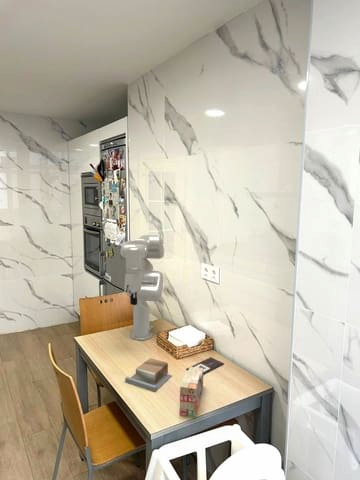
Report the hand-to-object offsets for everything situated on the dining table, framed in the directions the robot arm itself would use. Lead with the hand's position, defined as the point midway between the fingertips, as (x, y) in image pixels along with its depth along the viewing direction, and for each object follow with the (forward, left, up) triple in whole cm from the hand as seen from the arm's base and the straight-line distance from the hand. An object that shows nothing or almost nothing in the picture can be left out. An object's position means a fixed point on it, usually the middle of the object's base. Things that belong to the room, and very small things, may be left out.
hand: (133, 304), depth 181 cm
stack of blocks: (+23, +46, -27) cm, 58 cm away
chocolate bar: (-5, +40, -28) cm, 48 cm away
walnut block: (+10, +21, -24) cm, 34 cm away
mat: (+17, +21, -27) cm, 38 cm away
